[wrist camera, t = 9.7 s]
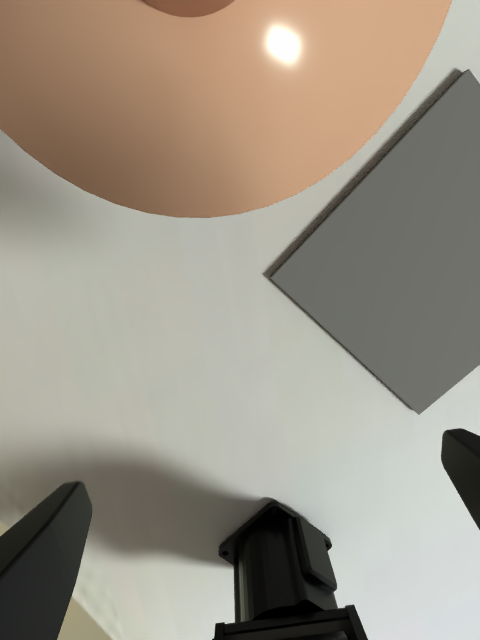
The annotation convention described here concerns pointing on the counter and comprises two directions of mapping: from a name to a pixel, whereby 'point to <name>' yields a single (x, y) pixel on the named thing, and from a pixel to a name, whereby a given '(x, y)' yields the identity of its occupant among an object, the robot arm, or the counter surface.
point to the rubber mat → (405, 256)
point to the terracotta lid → (205, 92)
